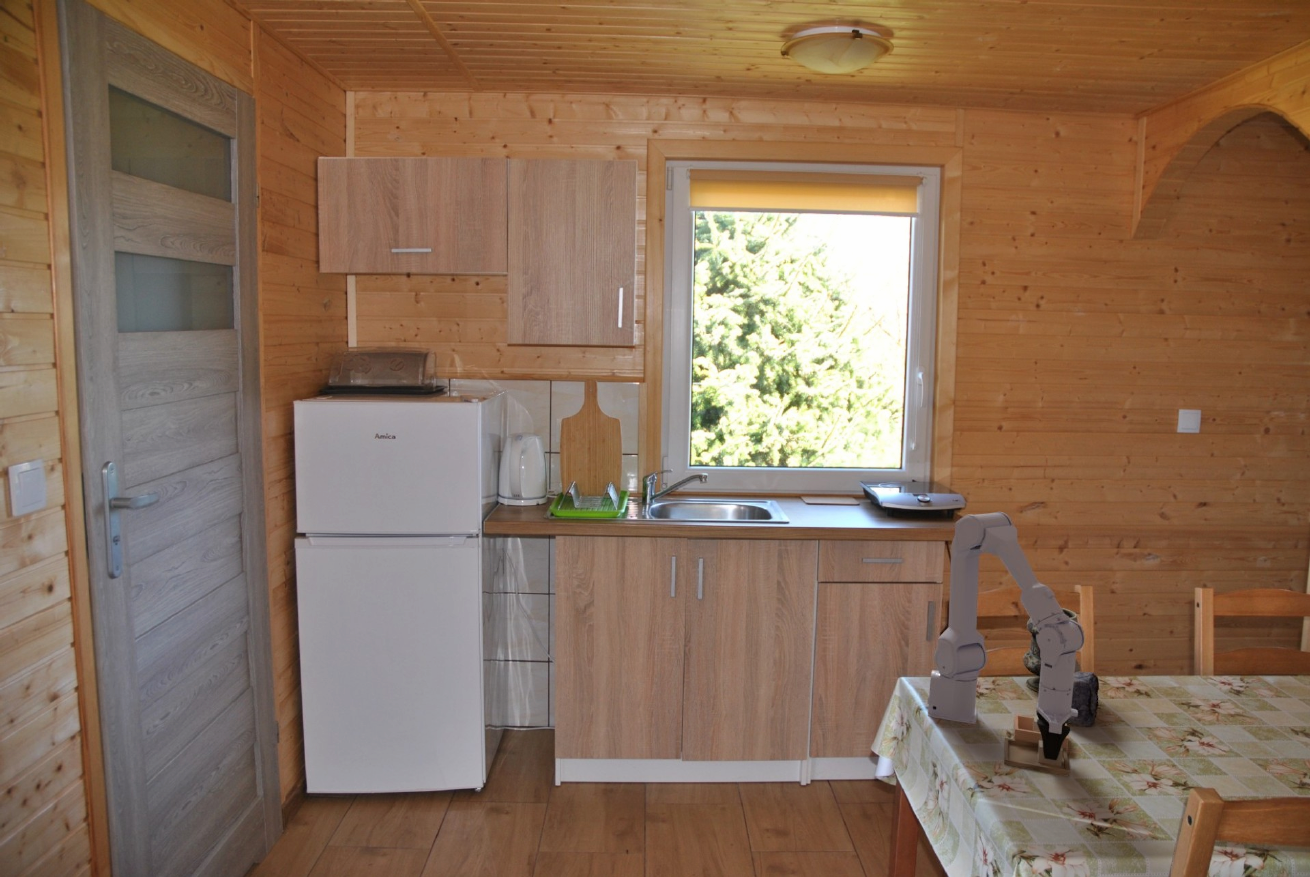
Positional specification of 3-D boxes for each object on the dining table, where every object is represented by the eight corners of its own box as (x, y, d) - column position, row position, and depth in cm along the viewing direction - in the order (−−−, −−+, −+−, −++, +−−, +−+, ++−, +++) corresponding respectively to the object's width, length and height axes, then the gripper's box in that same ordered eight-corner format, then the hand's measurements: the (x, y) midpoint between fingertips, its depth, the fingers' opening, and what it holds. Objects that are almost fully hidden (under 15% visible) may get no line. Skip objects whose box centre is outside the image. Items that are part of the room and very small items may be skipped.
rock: (1088, 733, 185) (1092, 684, 184) (1059, 725, 189) (1063, 676, 188) (1100, 717, 193) (1104, 670, 192) (1072, 710, 197) (1076, 663, 196)
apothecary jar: (1066, 703, 200) (1073, 623, 198) (1012, 686, 208) (1018, 610, 206) (1085, 688, 209) (1093, 612, 207) (1032, 673, 217) (1039, 599, 215)
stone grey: (1034, 721, 179) (1050, 724, 178) (1033, 715, 182) (1050, 718, 181) (1032, 740, 180) (1049, 743, 179) (1032, 734, 183) (1048, 737, 182)
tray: (1004, 766, 170) (1004, 759, 170) (1004, 743, 179) (1004, 737, 179) (1068, 778, 166) (1069, 771, 166) (1065, 754, 176) (1066, 748, 175)
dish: (1013, 744, 179) (1015, 729, 179) (1013, 729, 186) (1014, 714, 186) (1067, 754, 176) (1068, 738, 175) (1064, 738, 183) (1066, 722, 182)
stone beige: (1038, 762, 171) (1039, 746, 171) (1037, 755, 174) (1038, 740, 174) (1061, 766, 170) (1062, 750, 170) (1060, 759, 173) (1061, 744, 172)
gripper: (1082, 703, 162) (1076, 776, 164) (1076, 675, 175) (1070, 742, 177) (1039, 696, 164) (1033, 768, 166) (1037, 669, 178) (1031, 735, 180)
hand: (1049, 754), depth 172 cm, fingers closed on stone beige, 3 cm apart
